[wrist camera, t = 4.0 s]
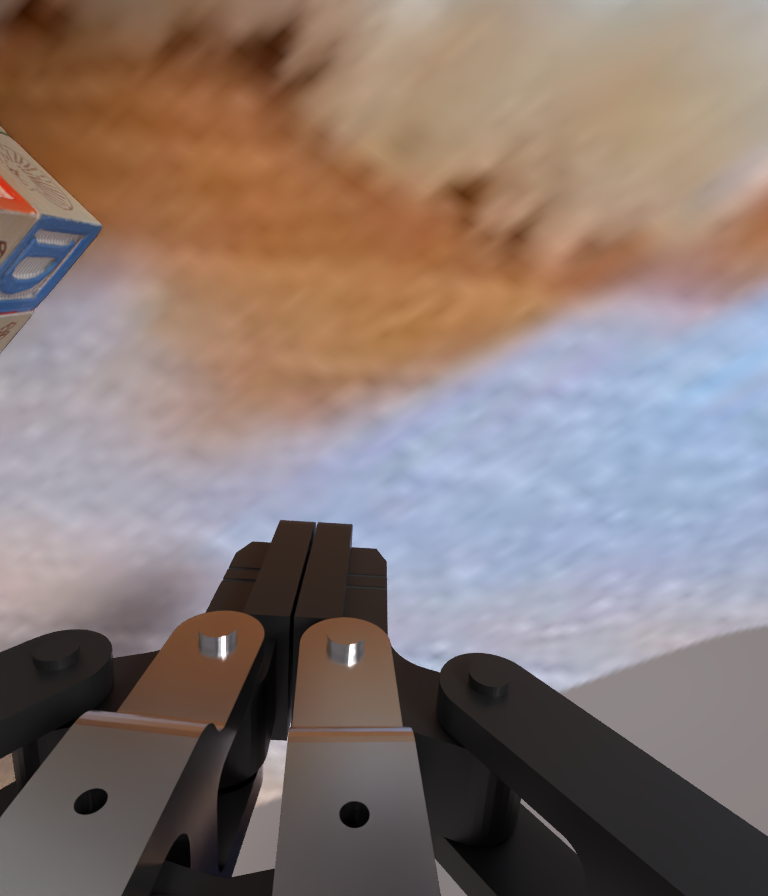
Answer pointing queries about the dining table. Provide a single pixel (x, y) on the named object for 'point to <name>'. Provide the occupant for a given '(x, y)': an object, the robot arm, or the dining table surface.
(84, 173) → the dining table surface
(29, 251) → the stack of blocks
